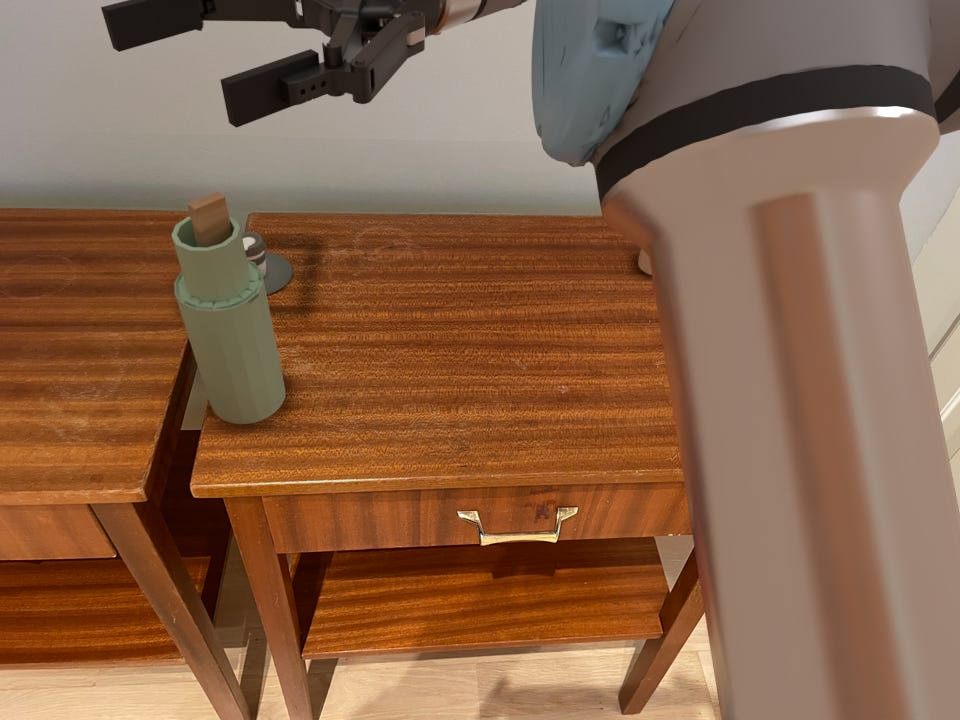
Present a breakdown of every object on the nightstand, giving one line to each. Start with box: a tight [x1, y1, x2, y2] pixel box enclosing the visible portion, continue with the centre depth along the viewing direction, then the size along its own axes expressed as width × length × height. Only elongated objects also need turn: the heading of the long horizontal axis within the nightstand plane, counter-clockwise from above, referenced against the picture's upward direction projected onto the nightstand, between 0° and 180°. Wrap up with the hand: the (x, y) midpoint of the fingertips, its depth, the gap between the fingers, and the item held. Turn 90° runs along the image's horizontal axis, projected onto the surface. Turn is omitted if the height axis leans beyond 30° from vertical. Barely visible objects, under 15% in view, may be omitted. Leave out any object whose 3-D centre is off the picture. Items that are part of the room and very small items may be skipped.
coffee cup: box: [241, 231, 294, 296], centre depth 79 cm, size 12×12×5 cm
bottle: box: [170, 215, 286, 425], centre depth 62 cm, size 7×7×19 cm
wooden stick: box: [186, 191, 232, 248], centre depth 61 cm, size 2×3×21 cm
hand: (164, 64), depth 46 cm, fingers open, 13 cm apart
